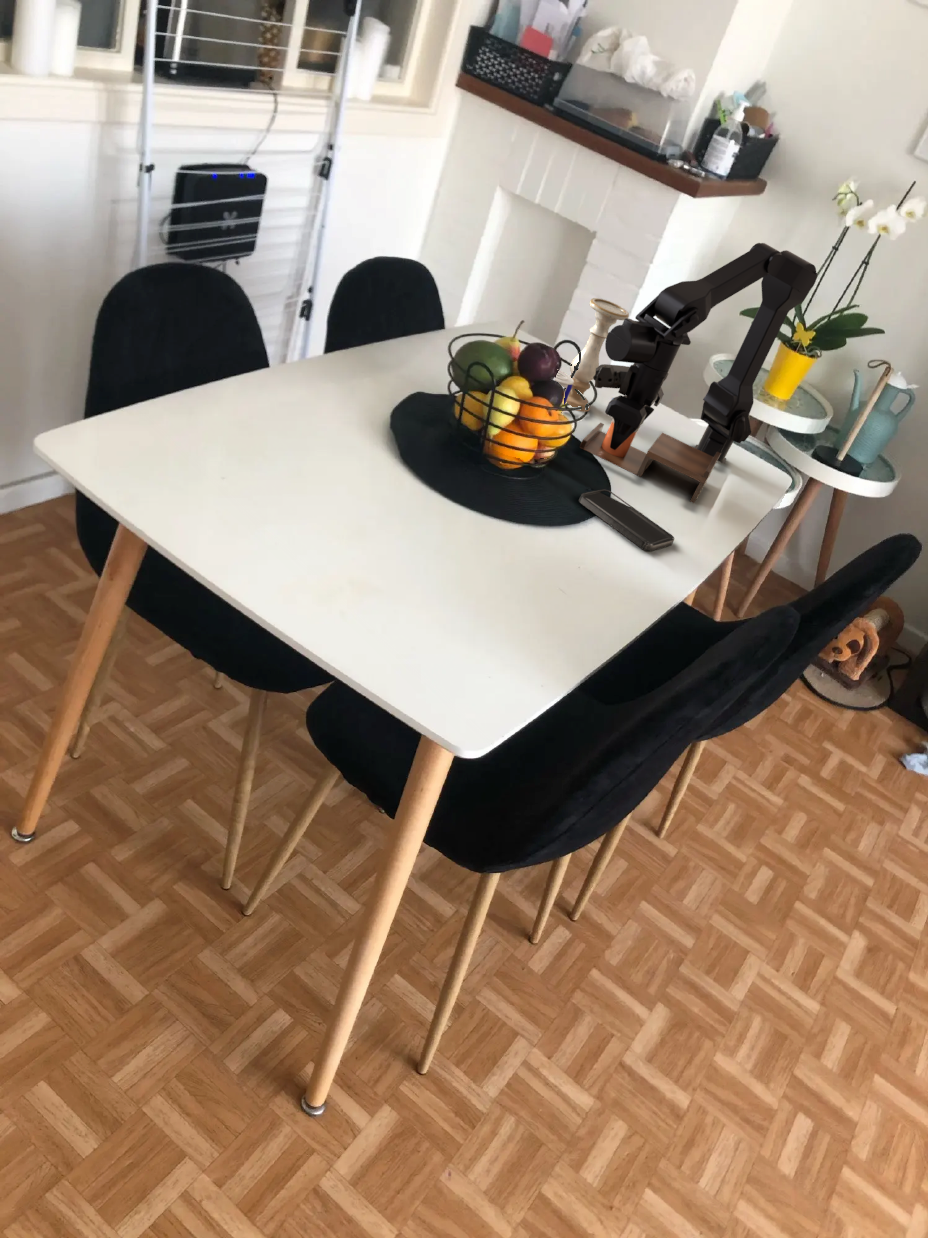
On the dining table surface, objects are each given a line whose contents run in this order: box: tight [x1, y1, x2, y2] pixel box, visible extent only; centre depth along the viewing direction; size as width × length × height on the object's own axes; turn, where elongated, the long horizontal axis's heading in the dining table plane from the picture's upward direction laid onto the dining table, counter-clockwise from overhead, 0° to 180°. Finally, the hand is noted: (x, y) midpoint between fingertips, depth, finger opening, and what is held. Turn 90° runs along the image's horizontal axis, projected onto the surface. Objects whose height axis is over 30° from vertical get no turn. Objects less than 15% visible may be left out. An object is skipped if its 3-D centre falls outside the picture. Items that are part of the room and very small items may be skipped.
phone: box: [578, 488, 675, 552], centre depth 158 cm, size 8×1×15 cm
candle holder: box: [566, 297, 630, 413], centre depth 188 cm, size 9×9×20 cm
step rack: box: [579, 422, 721, 504], centre depth 177 cm, size 12×22×7 cm, turn 66°
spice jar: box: [601, 417, 641, 457], centre depth 178 cm, size 5×5×6 cm
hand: (616, 444), depth 179 cm, fingers closed on spice jar, 5 cm apart
